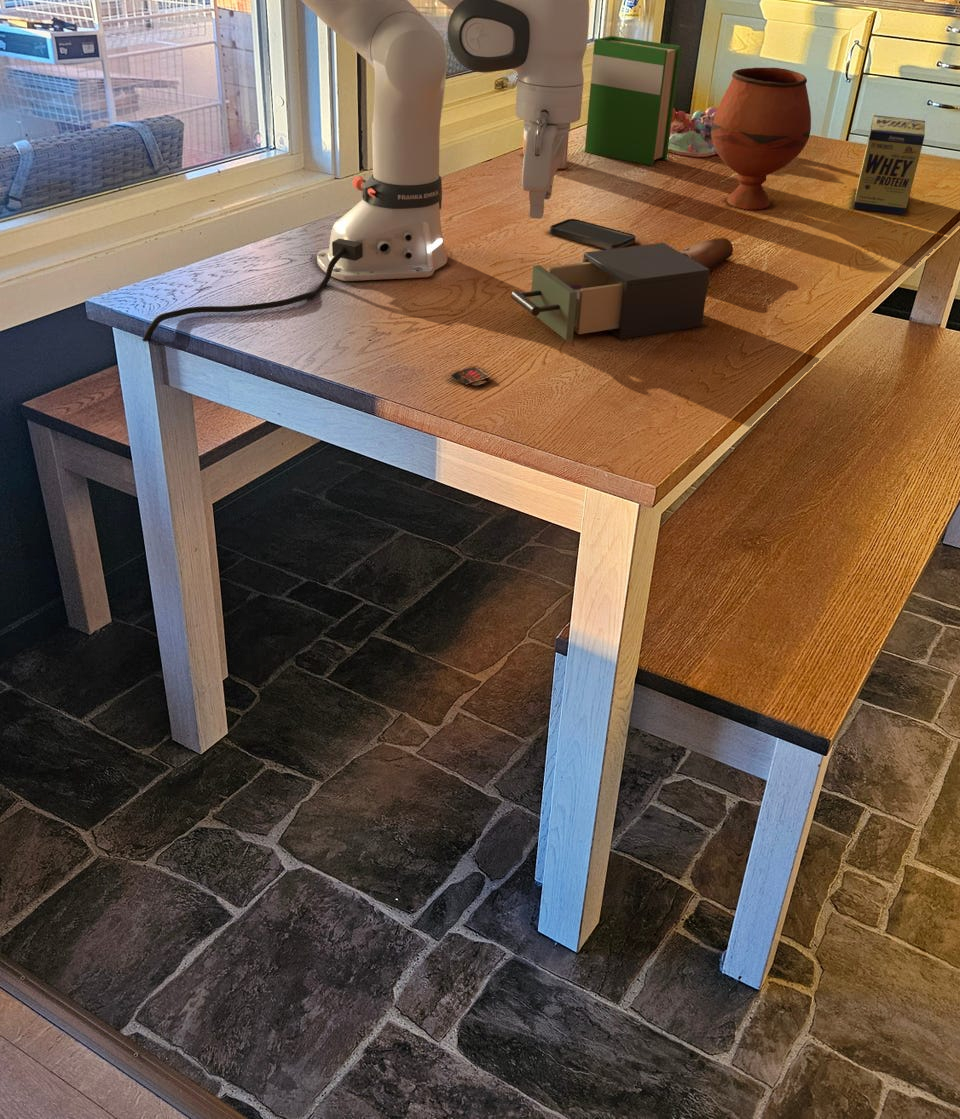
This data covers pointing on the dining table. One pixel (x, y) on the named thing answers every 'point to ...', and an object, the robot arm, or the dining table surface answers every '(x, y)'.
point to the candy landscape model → (692, 134)
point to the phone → (592, 234)
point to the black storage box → (655, 288)
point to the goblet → (761, 128)
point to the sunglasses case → (709, 252)
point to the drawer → (573, 298)
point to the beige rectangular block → (577, 289)
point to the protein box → (889, 164)
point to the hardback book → (631, 99)
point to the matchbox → (470, 376)
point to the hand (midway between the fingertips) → (540, 207)
